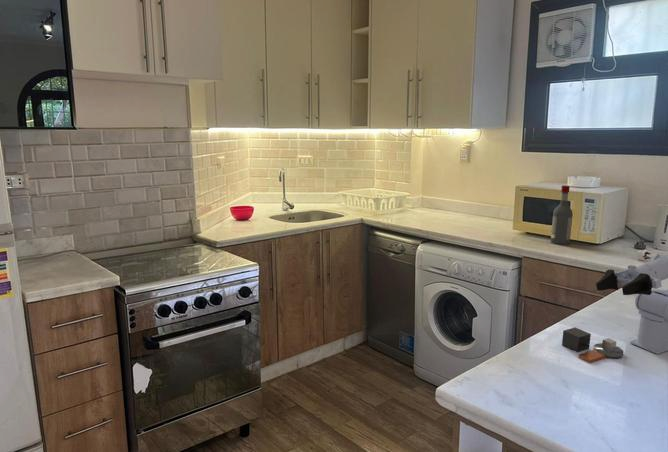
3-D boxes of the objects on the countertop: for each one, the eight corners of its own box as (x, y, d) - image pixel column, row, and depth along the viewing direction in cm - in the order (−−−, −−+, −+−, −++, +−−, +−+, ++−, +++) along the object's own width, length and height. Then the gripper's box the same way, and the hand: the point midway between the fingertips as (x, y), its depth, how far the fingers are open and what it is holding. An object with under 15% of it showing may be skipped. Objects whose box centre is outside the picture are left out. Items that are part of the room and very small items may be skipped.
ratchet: (604, 345, 142) (605, 333, 141) (628, 355, 136) (630, 343, 135) (572, 355, 136) (573, 342, 135) (596, 366, 130) (597, 353, 129)
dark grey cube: (573, 341, 144) (575, 327, 143) (589, 348, 140) (590, 333, 139) (561, 345, 142) (563, 330, 141) (577, 352, 137) (578, 337, 136)
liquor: (569, 241, 262) (575, 185, 256) (569, 245, 254) (575, 187, 248) (550, 239, 266) (556, 184, 259) (550, 243, 258) (555, 186, 251)
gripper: (619, 258, 140) (584, 271, 135) (670, 263, 127) (634, 277, 122) (623, 282, 141) (588, 295, 136) (674, 289, 127) (638, 304, 123)
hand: (610, 288), depth 129 cm, fingers open, 7 cm apart
